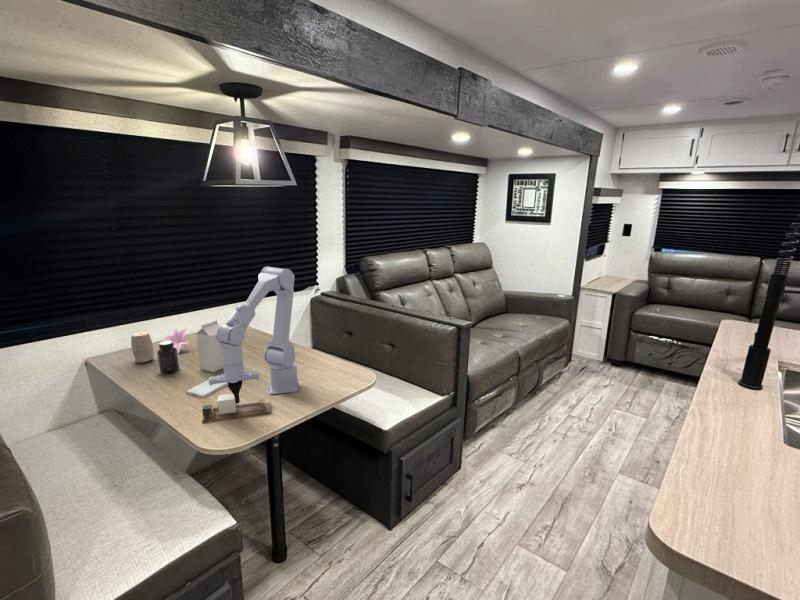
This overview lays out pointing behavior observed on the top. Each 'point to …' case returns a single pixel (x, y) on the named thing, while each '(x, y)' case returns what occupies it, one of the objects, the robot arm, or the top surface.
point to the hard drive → (205, 389)
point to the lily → (178, 338)
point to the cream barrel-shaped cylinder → (142, 347)
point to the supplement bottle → (168, 358)
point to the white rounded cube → (226, 404)
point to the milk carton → (209, 347)
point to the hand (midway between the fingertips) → (237, 402)
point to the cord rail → (242, 411)
